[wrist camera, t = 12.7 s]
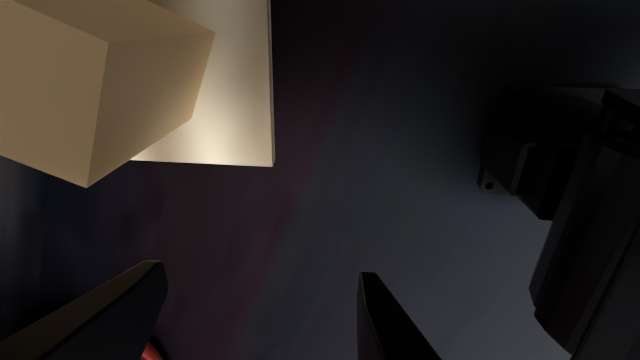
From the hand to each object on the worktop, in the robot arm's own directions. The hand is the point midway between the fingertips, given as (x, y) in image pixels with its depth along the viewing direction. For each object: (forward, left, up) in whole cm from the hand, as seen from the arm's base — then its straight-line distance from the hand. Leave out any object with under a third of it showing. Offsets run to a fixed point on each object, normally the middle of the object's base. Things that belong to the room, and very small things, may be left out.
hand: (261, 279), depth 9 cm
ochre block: (+8, -4, -12) cm, 15 cm away
